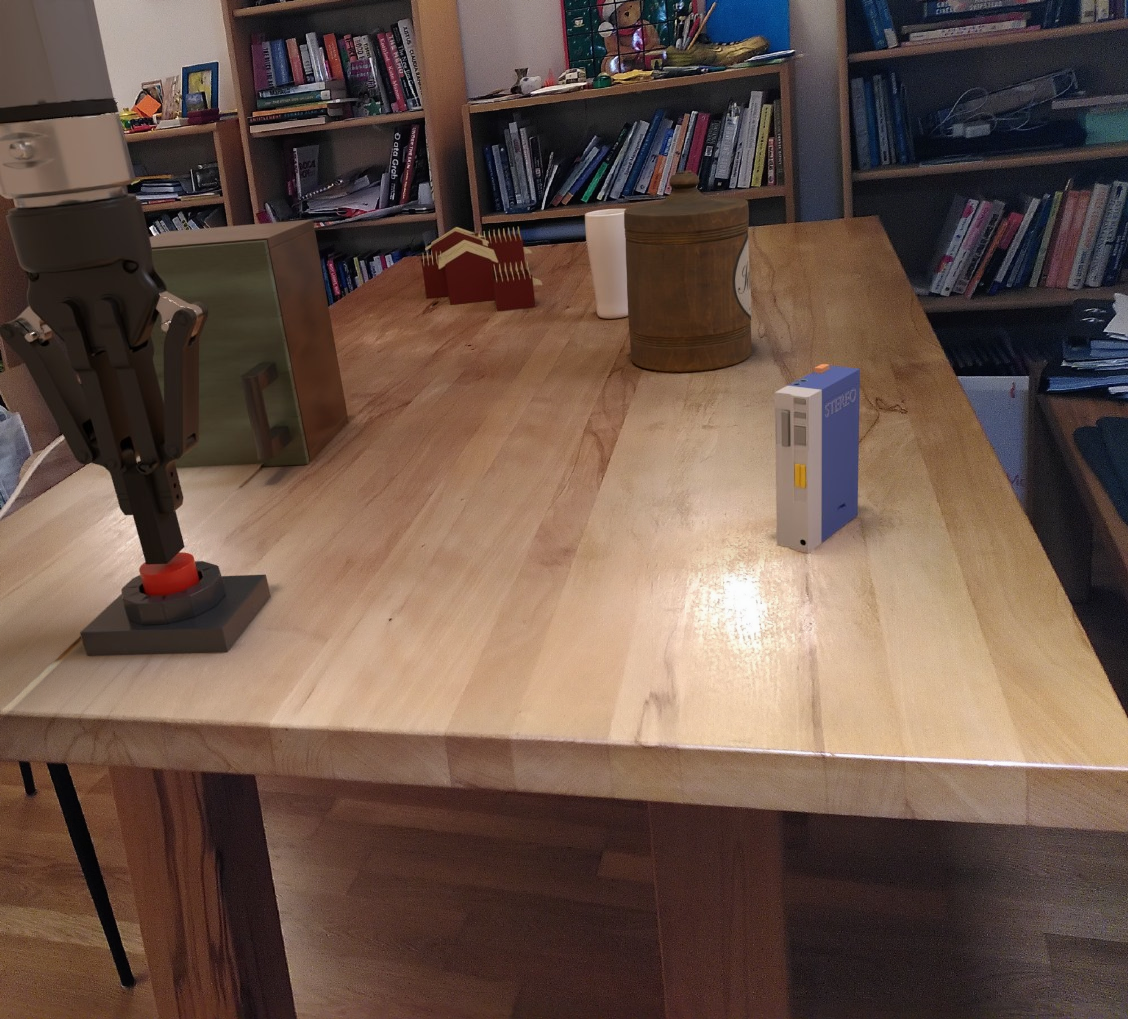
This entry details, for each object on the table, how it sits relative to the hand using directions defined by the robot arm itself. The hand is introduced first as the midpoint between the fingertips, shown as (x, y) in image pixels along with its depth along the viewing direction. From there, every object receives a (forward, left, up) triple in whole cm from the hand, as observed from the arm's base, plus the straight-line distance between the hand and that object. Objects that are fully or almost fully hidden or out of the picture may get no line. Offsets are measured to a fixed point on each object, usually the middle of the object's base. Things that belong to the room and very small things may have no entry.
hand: (165, 555), depth 71 cm
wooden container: (+36, +66, -6) cm, 75 cm away
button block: (0, 0, -6) cm, 6 cm away
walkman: (+45, +12, -6) cm, 47 cm away
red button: (0, 0, -2) cm, 2 cm away
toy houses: (0, +123, -6) cm, 123 cm away
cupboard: (-10, +40, -6) cm, 42 cm away
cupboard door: (-10, +30, -5) cm, 32 cm away
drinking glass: (+25, +93, -6) cm, 96 cm away
